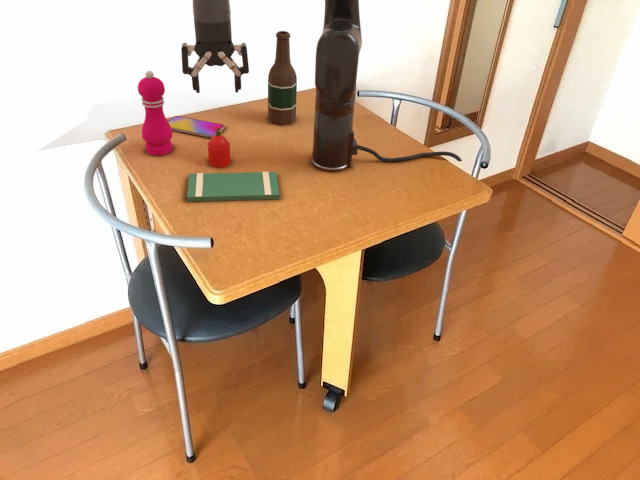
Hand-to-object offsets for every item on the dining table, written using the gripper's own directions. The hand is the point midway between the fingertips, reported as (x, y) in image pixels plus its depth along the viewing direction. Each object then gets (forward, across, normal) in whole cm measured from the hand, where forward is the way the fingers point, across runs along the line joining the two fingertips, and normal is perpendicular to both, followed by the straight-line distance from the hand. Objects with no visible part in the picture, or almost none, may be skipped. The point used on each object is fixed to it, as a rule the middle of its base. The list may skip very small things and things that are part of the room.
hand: (217, 91), depth 124 cm
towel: (+18, +2, -12) cm, 22 cm away
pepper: (+18, -1, 0) cm, 18 cm away
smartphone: (+18, -7, +19) cm, 27 cm away
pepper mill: (+18, -16, +7) cm, 25 cm away
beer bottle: (+18, +17, +24) cm, 34 cm away
